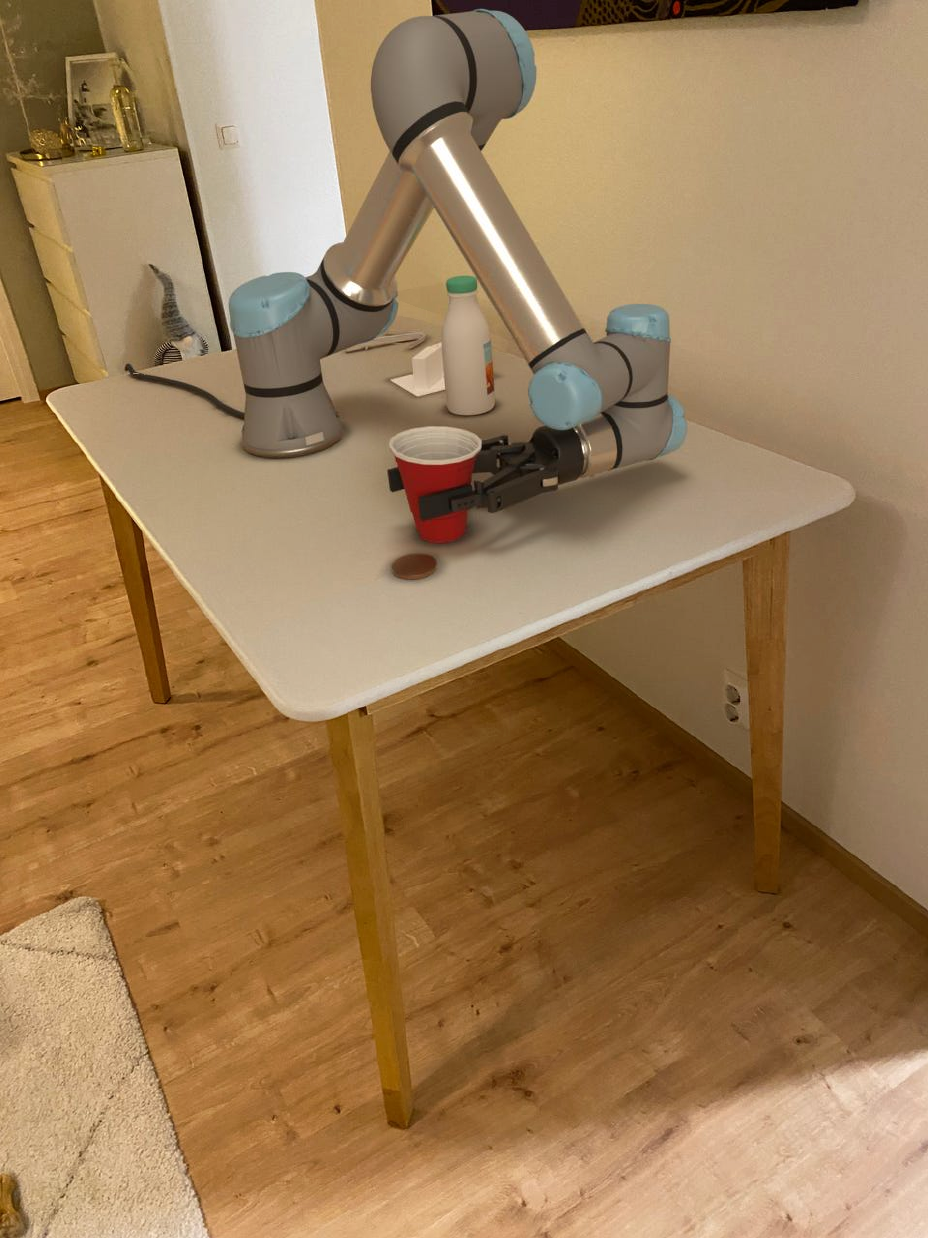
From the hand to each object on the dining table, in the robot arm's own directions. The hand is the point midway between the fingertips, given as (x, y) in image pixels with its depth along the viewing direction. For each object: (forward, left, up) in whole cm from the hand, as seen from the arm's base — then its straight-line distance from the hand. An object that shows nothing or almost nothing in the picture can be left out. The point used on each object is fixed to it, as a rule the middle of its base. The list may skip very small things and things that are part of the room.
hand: (404, 494), depth 114 cm
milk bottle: (-19, +41, -7) cm, 46 cm away
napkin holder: (-32, +51, -7) cm, 61 cm away
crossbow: (-54, +63, -7) cm, 84 cm away
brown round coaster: (+4, -5, -6) cm, 9 cm away
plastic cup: (+2, +4, -7) cm, 8 cm away
